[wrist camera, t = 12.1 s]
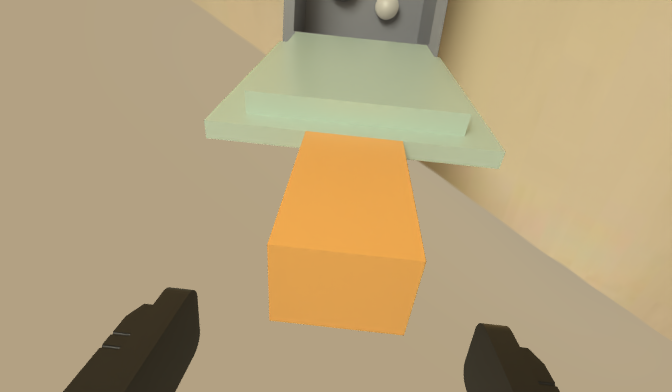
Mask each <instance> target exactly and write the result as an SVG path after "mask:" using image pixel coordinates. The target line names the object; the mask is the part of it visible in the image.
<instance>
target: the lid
mask: <svg viewBox="0 0 672 392" xmlns="http://www.w3.org/2000/svg"><path fill="white" fill-rule="evenodd" d="M204 124H205V131H206V138H211V139H221V140H230V141H239V142H249V143H258V144H268V145H278V146H286V147H297V148H300V149H299V152H298V155H297V158H296V161H295V164H294V167H293V170H292V173H291V176H290V179H289V182H288V185H287V188H286V190H285V193H284V197H283V199H282V202H281V205H280V208H279V211H278V214H277V217H276V220H275V223H274V226H273V229H272V232H271V235H270V238H269V241H268V244H267V252H268V286H269V317H270V321H280V322H288V323H297V324H306V325H315V326H324V327H333V328H343V329H352V330H360V331H369V332H378V333H387V334H396V335H404V333H405V330H406V326H407V323H408V320H409V317H410V314H411V310H412V307H413V304H414V300H415V297H416V294H417V290H418V287H419V284H420V280H421V277H422V273H423V270H424V267H425V264H426V259H425V253H424V248H423V243H422V237H421V232H420V227H419V222H418V217H417V212H416V206H415V201H414V197H413V191H412V186H411V181H410V175H409V170H408V165H407V160H406V159H409V160H419V161H428V162H437V163H447V164H456V165H466V166H475V167H485V168H494V169H499V168H500V166H501V163H502V160H503V158H504V155H505V150H504V149H503V147H502V146H501V145H500V143H499V142H498V140H497V139H496V137H495V136H494V135H493V133H492V132H491V130H490V129H489V127H488V126H487V124H486V123H485V122H484V120H483V119H482V117H481V116H480V114H479V113H478V111H477V110H476V109H475V107H474V106H473V104H472V103H471V101H470V100H469V99H468V97H467V96H466V94H465V93H464V91H463V90H462V88H461V87H460V86H459V84H458V83H457V81H456V80H455V78H454V77H453V76H452V74H451V73H450V71H449V70H448V68H447V67H446V65H445V64H444V63H443V61H442V60H441V58H440V57H434V56H433V54H432V52H431V51H430V49H429V48H428V46H427V45H420V44H410V43H400V42H390V41H381V40H371V39H361V38H351V37H342V36H332V35H322V34H312V33H302V32H295V33H294V35H293V36H292V37H291V38H290V39H289V40H288V41H287V42H284V41H280V42H279V43H278V44H277V45H276V46H275V47H274V48H273V49H272V50H271V51H270V52H269V53H268V54H267V55H266V56H265V57H264V58H263V59H262V60H261V61H260V62H259V64H258V65H257V66H256V67H255V68H254V69H253V70H252V71H251V72H250V73H249V74H248V75H247V76H246V77H245V78H244V79H243V80H242V81H241V82H240V83H239V84H238V86H236V88H235V89H234V90H233V91H232V92H231V93H230V94H229V95H228V96H227V97H226V98H225V99H224V100H223V101H222V102H221V103H220V104H219V105H218V106H217V107H216V108H215V109H214V110H213V112H212V113H211V114H210V115H209V116H208V117H207V118H206V119H205V120H204Z"/></svg>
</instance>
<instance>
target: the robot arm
mask: <svg viewBox="0 0 672 392" xmlns="http://www.w3.org/2000/svg"><path fill="white" fill-rule="evenodd" d="M199 336H200V327H199V313H198V299H197V293H196V291H195V290H188V289H179V288H170V287H169V288H166V289H165V290H164V291H163V292H162V294H161V295H160V297H159V298H158V299H157V300H156V302H155V303H154V304H153V305H149V304H143V305H142V306H140V307H139V308H137V309H136V310H134V311H133V312H131V313H130V314H129V315H127V316H126V317H125V318H124V319H123V320H122V322H121V323H120V324H119V325H118V326H117V328H116V329H115V330H114V331H113V334H112V335H110V336H109V337H108V338H107V340H106V341H105V342H104V343H103V345H102V348H99V349H98V351H97V352H96V353H95V354H94V355H93V356H92V358H91V359H90V360H89V361H88V363H87V364H86V365H85V366H84V367H83V368H82V370H81V371H80V372H79V373H78V374H77V376H76V377H75V378H74V379H73V380H72V382H71V383H70V384H69V385H68V386H67V388H66V389H65V390H64V391H63V392H175V391H176V389H177V387H178V385H179V383H180V381H181V379H182V378H183V375H184V374H185V372H186V370H187V368H188V366H189V364H190V362H191V360H192V358H193V356H194V354H195V352H196V349H197V346H198V342H199ZM464 382H465V387H466V390H467V392H560V391H559V389H558V387H555V382H554V381H553V379H552V377H551V375H550V373H549V372H548V370H547V368H546V366H545V365H544V364H543V363H542V362H541V361H540V360H539V359H538V358H537V357H536V356H535V355H534V354H533V353H532V352H531V351H530V350H529V349H528V348H522V347H519V344H518V343H517V341H516V339H515V337H514V335H513V333H512V331H511V330H510V328H509V327H507V326H501V325H492V324H482V323H479V324H478V325H477V326H476V329H475V332H474V335H473V338H472V341H471V344H470V348H469V351H468V354H467V357H466V360H465V364H464Z"/></svg>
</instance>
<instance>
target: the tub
mask: <svg viewBox="0 0 672 392" xmlns="http://www.w3.org/2000/svg"><path fill="white" fill-rule="evenodd" d="M447 4H448V0H284V19H283V41H285V42H287V41H288V40H289V39H290V38H291V37H292V36H293V35H294V33H295V32H302V33H312V34H322V35H332V36H342V37H351V38H361V39H371V40H381V41H390V42H400V43H410V44H420V45H427V46H428V48H429V49H430V51H431V52H432V54H433V56H434V57H437V56H438V51H439V45H440V40H441V35H442V30H443V25H444V19H445V14H446V9H447Z"/></svg>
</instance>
